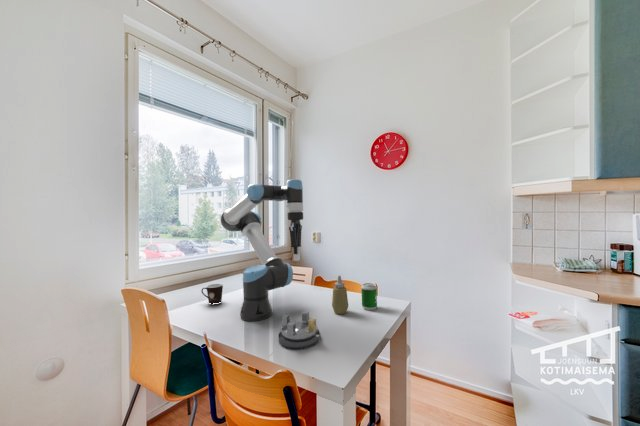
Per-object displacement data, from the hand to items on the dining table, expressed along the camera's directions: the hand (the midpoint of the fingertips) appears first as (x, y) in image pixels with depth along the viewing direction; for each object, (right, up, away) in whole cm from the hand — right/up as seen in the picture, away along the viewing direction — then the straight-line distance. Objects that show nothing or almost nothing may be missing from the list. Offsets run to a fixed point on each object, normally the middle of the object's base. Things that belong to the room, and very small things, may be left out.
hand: (296, 260), depth 126 cm
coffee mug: (-49, -28, +21) cm, 60 cm away
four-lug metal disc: (+3, -24, -25) cm, 34 cm away
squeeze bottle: (+21, -26, +2) cm, 34 cm away
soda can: (+36, -26, +6) cm, 45 cm away
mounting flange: (+3, -26, -25) cm, 36 cm away
